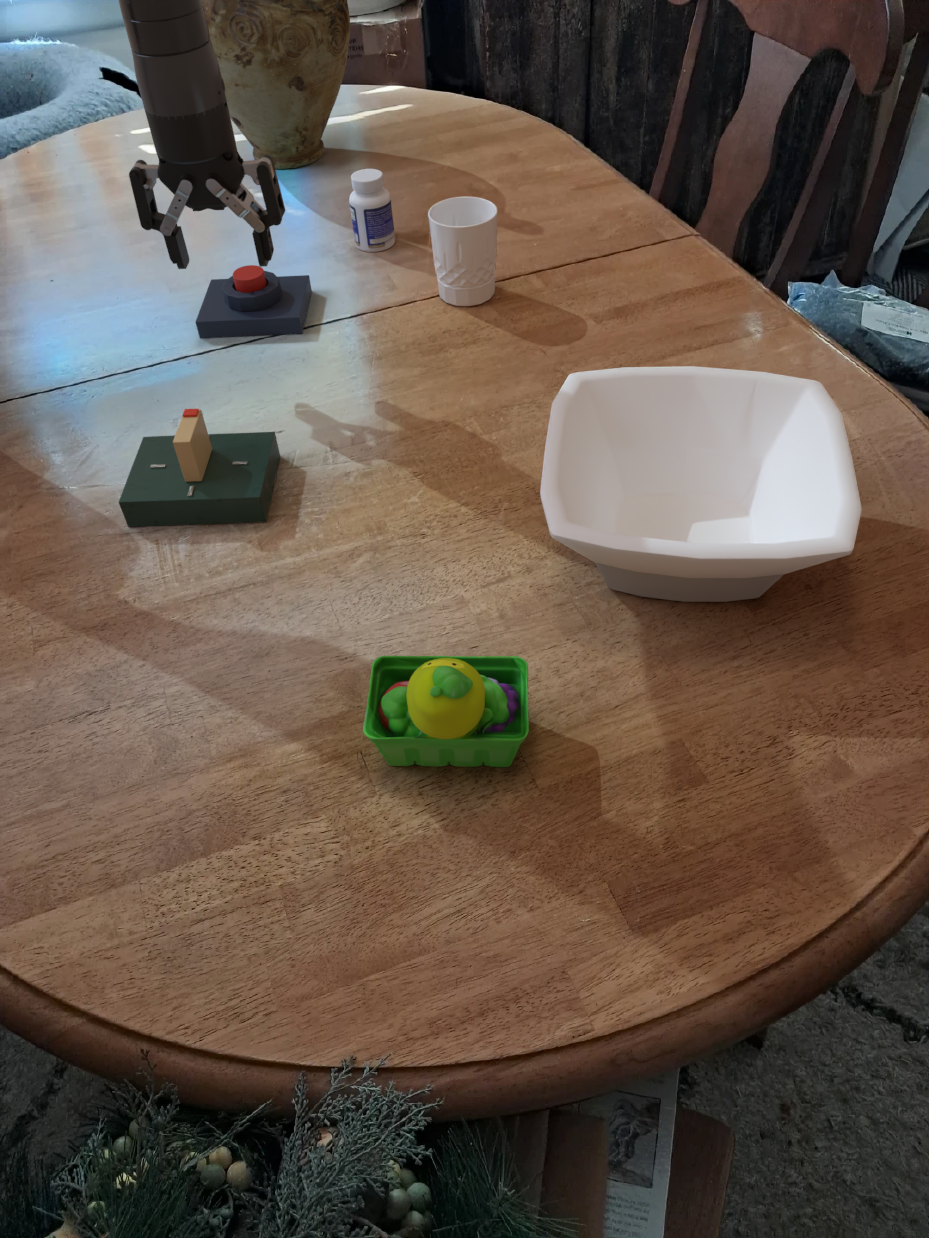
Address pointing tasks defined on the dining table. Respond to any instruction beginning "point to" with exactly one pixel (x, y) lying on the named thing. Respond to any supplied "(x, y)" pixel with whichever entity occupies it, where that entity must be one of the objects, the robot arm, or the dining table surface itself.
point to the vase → (281, 71)
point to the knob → (192, 445)
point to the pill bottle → (371, 211)
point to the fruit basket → (448, 709)
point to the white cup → (464, 249)
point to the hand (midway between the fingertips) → (224, 264)
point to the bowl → (698, 479)
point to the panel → (202, 482)
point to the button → (249, 279)
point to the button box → (255, 308)
